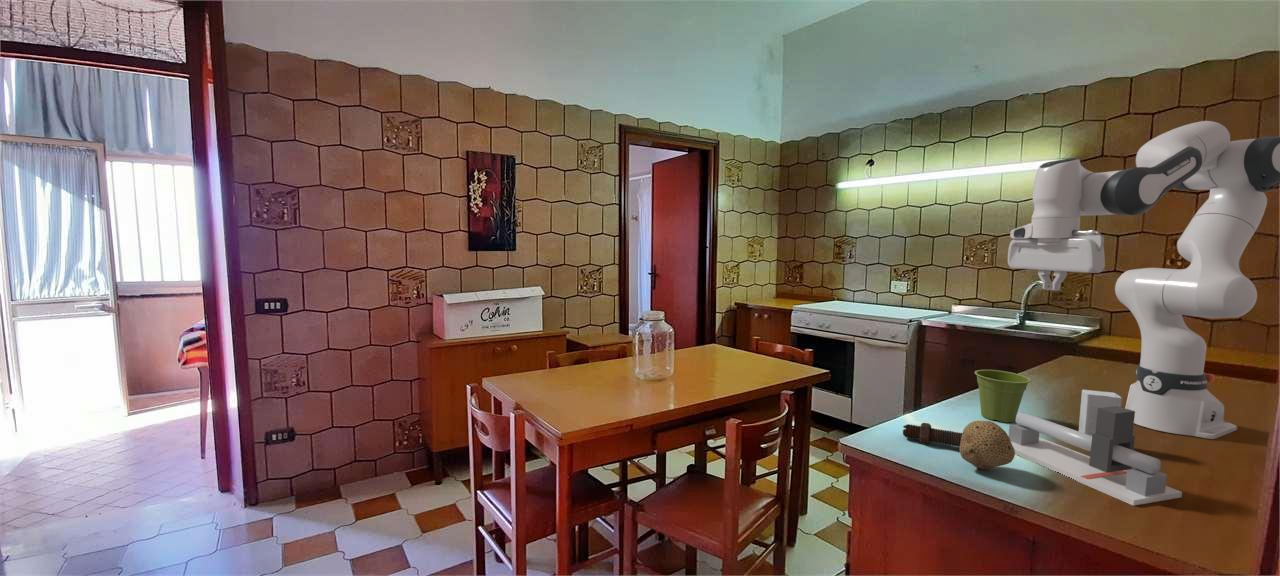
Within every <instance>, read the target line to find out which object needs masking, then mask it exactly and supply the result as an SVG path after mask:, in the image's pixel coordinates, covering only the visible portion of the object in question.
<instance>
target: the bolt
mask: <svg viewBox="0 0 1280 576" xmlns="http://www.w3.org/2000/svg"><path fill="white" fill-rule="evenodd" d="M902 427H903V428H904V429H903V430H902V435H903V437H904V438H906V439H907V438H908V439H914V440H919V443H920V444H921V445H927V446H929V445H930V444H931V443H934V444H941V445H946V446H951V447H957V448H960V442H961V437H962V433H963V432H957V431H952V430H946V429H939V428H934V427H932V425H931V424H930V423H927V422H922V423H921V424H920V425H916V424H909V423H907V424H905V425H902Z"/></svg>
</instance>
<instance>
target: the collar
mask: <svg viewBox="0 0 1280 576" xmlns="http://www.w3.org/2000/svg"><path fill="white" fill-rule="evenodd" d="M1134 417H1135V411H1132V410H1129V409H1125V407H1122V406H1121V407H1118V406H1114V407H1104V408H1098V411H1097V421H1096V431H1095V433H1094V434H1092V443H1091V452H1090V454H1089V457H1090V463H1089V466H1091V467H1094V468H1096V469H1099V470H1101V471H1104V472H1106V473H1107V472H1114V471H1121V470H1126V471H1127V470H1131V469H1132V468H1133V467H1130V466H1128V465H1125V464H1122V463H1120V462H1117V461H1114V460H1112V453H1113V444H1117V445H1119V446H1122V447H1125V448H1128V449H1131V450H1134V451H1135V442H1136V441H1135V440H1136V437H1135V436H1134V435H1133V434H1134V425H1135V423H1134Z"/></svg>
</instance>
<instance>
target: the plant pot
mask: <svg viewBox="0 0 1280 576" xmlns="http://www.w3.org/2000/svg"><path fill="white" fill-rule="evenodd" d="M974 374H975V375H976V381H977V384H978V391H979V392H978V393H979V402H980V413H981V416H982V417H984V418H986V419H987V420H989V421H994V420H996V421H998V422H1001V423H1013V422H1015V421H1016V416H1017V414H1018V413H1019V409H1020V405H1021V403H1022V399H1023V396H1024V393H1025V391H1026V389H1027V386H1028V384H1029V383H1031V380H1032V379H1031V378H1029V377H1027V376H1025V375H1022V374H1020V373H1019V374H1018V373H1016V372H1015V373H1014V372H1010V371H1004V370H998V369H997V370H996V369H978V370H975V371H974Z"/></svg>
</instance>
